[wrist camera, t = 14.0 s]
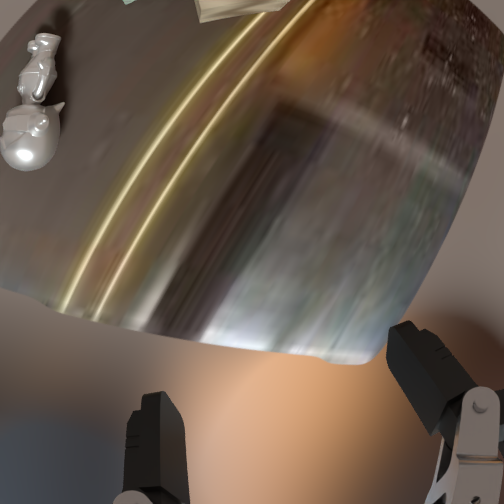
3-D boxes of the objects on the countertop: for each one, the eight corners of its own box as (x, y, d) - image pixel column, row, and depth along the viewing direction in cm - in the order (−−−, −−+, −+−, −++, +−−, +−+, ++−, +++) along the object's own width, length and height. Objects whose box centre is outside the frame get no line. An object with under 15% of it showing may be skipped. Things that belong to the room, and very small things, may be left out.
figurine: (36, 21, 19) (6, 175, 22) (97, 34, 25) (72, 173, 28) (10, 49, 24) (-11, 170, 28) (59, 56, 30) (40, 168, 34)
